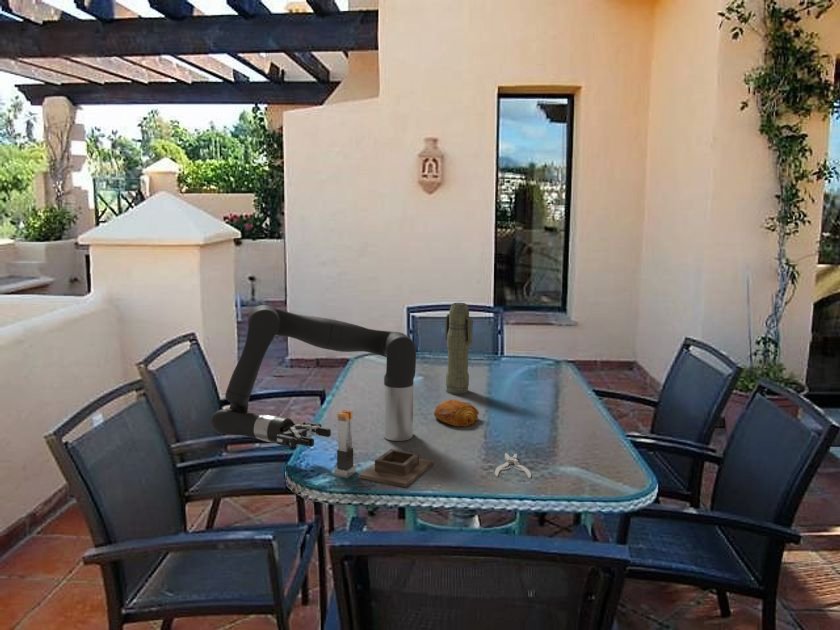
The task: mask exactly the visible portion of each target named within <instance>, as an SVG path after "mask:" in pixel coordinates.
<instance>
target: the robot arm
mask: <svg viewBox="0 0 840 630" xmlns="http://www.w3.org/2000/svg"><path fill="white" fill-rule="evenodd" d="M275 336H281V337H287V338H292V339H294V340H295V339H296V340H299V341H301V342H303V343H306V344H308V345H311V346H314V347H317V348H320V349H324V350H327V351H328V350H329V351H334V352H341V353H342V352H343V353H353V352H364V353H365V352H366V353H371V354H375V355H379V356H382V357H384V358H386V371H385V374H384V377H383V438H384V439H386V440H388V441H394V442H403V441H409V440H410V439H412V438H413V433H414V432H413V431H414V428H413V427H414V379H415V376H416V367H417V366H416V365H417V364H416V363H417V362H416V361H417V348H416V343H415V342H414V341H413V340H412V338H411V337H409V336H408V335H407V334H406V333H403V332H400V331H390V330H388V331H387V330H378V329H373V328H372V329H371V328H367V327H364V326H361V325H357V324H354V323H349V322H347V321H342V320H338V319H337V320H336V319H332V318H325V317H321V316H319V317H318V316H315V315H303V314H298V313H293V312H290V311H287V310H283V309H279V308H277V307H274V306H270V305H266V304H262V305H261V304H260V305H257V306H255V307H253V308H251V310H250V311H249V313H248V314H247V334H246V340H245V343H244V347H243V350H242V351H241V355H240V357H239V359H238V361H237V364H236V366H235V368H234V369H233V372H232V374H231V377H230V380H229V383H228V385H227V388H226V390H225V396H224V397H225V400H226V401H228V402H229V408H225V409H223V408H222V409H219V410H217V411H215V412H214V413H212V415H211V418H210V425H211V426H210V427H211V428H212V430H214V431H215V432H216V433H218V434H221V435H229V436H243V437H248V438H253V439H258V440H261V441H263V442H268V443H272V444H273V443H274V444H277V445H280V446H283V447H284V446H285V447H289V448H295V447H296V446H304V447H314V446H315V439H314V438H312V436H320V437H326V438H329V437H331V436H332V434H331V433H332V431H331V429H330V428H326V427H322V423H320V422H318V423H317V422H312V421H307V420H306V421H302V424H300V423H297V424H295V423H294V421H293V419H292V418H290V417H284V416H280V415H279V416H278V415H277V416H276V415H272V414H260V413H255V412H249V401H250V397H251V394H252V392H253V389H254V386H255V384H256V381H257V377H258V374H259V372H260V368H261V365H262V363H263V360H264V358H265V355H266V354H267V351H268V349H269V347H270V345H271V343H272V341H273V340H274V338H275Z"/></svg>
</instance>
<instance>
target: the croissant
mask: <svg viewBox="0 0 840 630" xmlns="http://www.w3.org/2000/svg"><path fill="white" fill-rule="evenodd" d="M433 415H434V418H436V420H437V419H438V420H439V421H441V422H443V423H445V424H448V425H450V426H453V427H454V426H455V427H468V426H470V425H473V424H475V422H477V420H478V419H479V415H480V412H479V410H478V408H476V407H475V406H474V405H473V404H470V403H469V402H465V401H462V400H457V399H448V400H444V401H442V402H441V403H438V404H437V406H435V408H434V411H433Z"/></svg>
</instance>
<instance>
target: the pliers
mask: <svg viewBox="0 0 840 630" xmlns="http://www.w3.org/2000/svg"><path fill="white" fill-rule="evenodd" d="M517 455H518V454H517V453H514V454H513V456H510V455H509V454H508V452H505V453H504V460H505V463H502V464H499V465H498V466H497V467H496V468H495V470H494V474H495V477H497V478H498V477H499V475H500V472H501V471H507V470H509V469H510V468H511V466H509V465H514V466H513V469H515V470H517V471H519V472H524V473H525V474H526V476H527V477H528V479H531V478H532V473H531V471H530V470H529V469H528V468H527V467H526V466H524V465H522V464H520V462H519V460H518V459H517Z"/></svg>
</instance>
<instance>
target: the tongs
mask: <svg viewBox="0 0 840 630" xmlns="http://www.w3.org/2000/svg"><path fill="white" fill-rule="evenodd" d="M353 415H354V413H353V411H352V410H346V409H343V410H341V411H340V412H337V427H338V429H337V430H338V431H337V433H338V434H337V435H338V436H337V439H338V441H337V443H338V444H337V445H338V446H337V447H338V449H337V450H336V467H334V469H333V472H334V473H333V475H334V476H336V477H342V478H344V479H345V478H346V479H347V478H349V477H351V476H352V475H353V474H354V473H356V472H357V464H354V447H353Z"/></svg>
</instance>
